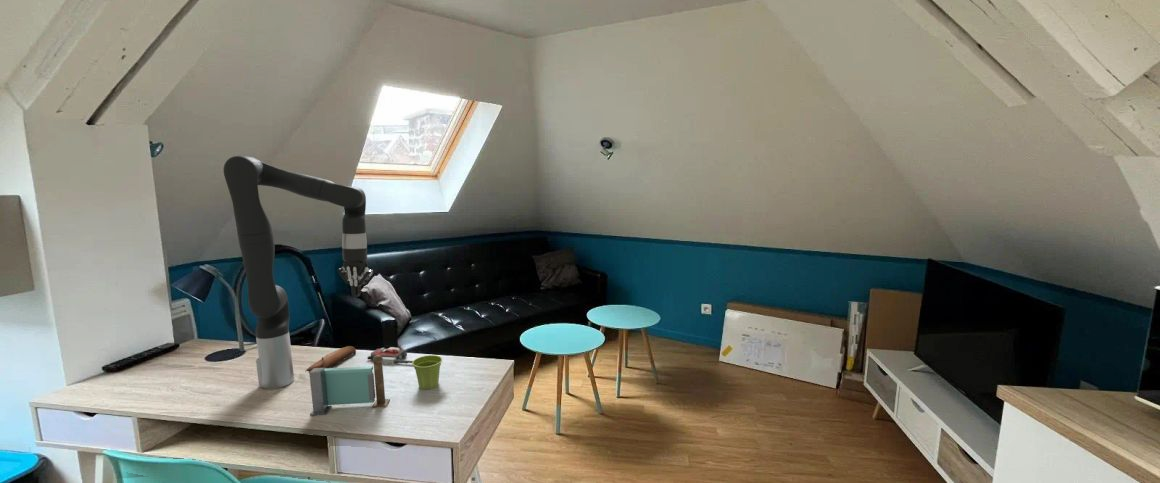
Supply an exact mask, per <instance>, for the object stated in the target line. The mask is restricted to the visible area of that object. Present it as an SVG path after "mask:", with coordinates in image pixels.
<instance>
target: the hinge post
mask: <svg viewBox="0 0 1160 483" xmlns="http://www.w3.org/2000/svg"><path fill="white" fill-rule="evenodd" d="M382 361H383V358H382V356H380V355H376V356H374V357H373V361H372V363H373V374H374V385H375V401H374V403H372V409H375V408H377V409H378V408H379V409H380V408H386V407H388V404H389V403H390V401H391V398H386V394H385V393H386V391H385V382H384V381H385V380H384V367H383V363H382Z"/></svg>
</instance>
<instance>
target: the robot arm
mask: <svg viewBox="0 0 1160 483" xmlns="http://www.w3.org/2000/svg"><path fill="white" fill-rule="evenodd" d="M222 172H223V176H224V179H225V183H226V186H227V187H228V188H227V189H228V191H229V192H228V193H229V195H230V199H231V203H232V207H233V215H234V220H235V225H236V232H237V238H238V244H239V248H240V253H241V257H242V262H243V267H244V272H245V275H246V284H247V303H248V308H249V310H250V312H251V313H252V314H253V315H254V316H256V317H257V324H256V327H255V339H256V340H255V341H256V347H257V359H256V360H255V364H256V371H257V372H256V373H257V380H258V387H259V388H263V389H266V390H267V389H268V390H269V389H271V390H274V389H278V388H279V389H280V388H283V387H286V386H288V385H290V384H292V383H293V382H294V381H295V373H294V372H295V371H294V365H293V355H292V346H291V337H290V336H291V335H290V329H289V328H290V327H289V326H290V319H291V318H290V308H289V307H290V305H289V298H288V295H287V294H288V293H287V292H286V290H285V289H284V288H283V287H282V286H279V285H278V284H276V283H275V278H274V263H275V262H274V260H275V253H276V252H275V251H276V250H275V238H274V234H273V233H274V232H273V228H272V225H271V222H270V220H269V217H268V215H267V214H266V212H265V210H264V208H263V205H262V203H261V200H260V195H259V186H263V187H264V186H265V187H270V188H271V187H272V188H277V189H281V190H285V191H286V192H287V191H288V192H290V193H293V194H296V195H299V196H302V197H304V198H305V197H306V198H308V199H313V200H317V201H322V202H326V203H327V202H328V203H330V204H334V205H337V206H340V207H343V217H342V224H341V225H342V227H341V228H342V237H341V249H342V251H341V252H342V260H343V263H342V266H341V267H340V268H338V269H336V270H337V271H336V272H337V273H338V274H339V275H340V277H341V278H342V280H343V282H344V283H345V285H347V284H348V285H350V294H351V296H352V297H354V298H358V297H360V296H361V294H362V286H363V285H365V284H367V282H369V280H370V278H371V277H372V276H373V274H374V270H373V269H370V268H369V266H368V262H367V260H368V244H367V243H368V240H367V234H366V230H367V229H366V228H367V227H366V208H367V207H366V205H367V198H366V197H367V196H366V193H365V191H364V190H363V188H360V187H359V186H348V185H343V184H339V183H335V182H333V181H331V180H329V179H324V178H321V177H317V176H314V175H313V176H312V175H308V174H303V173H298V172H294V171H289V170H287V169H286V170H285V169H283V168H279V167H277V166H274V165H271V164H268V163H266V162H264V161H261V160H259V159H257V158H255V157H253V156H247V155H246V156H245V155H235V156H231V157H229V158H228V159H226V161H225V163H224V166H223V171H222Z"/></svg>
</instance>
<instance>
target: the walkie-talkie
mask: <svg viewBox="0 0 1160 483" xmlns="http://www.w3.org/2000/svg"><path fill="white" fill-rule="evenodd" d="M376 355H380V356H382V358H383V361H382V365H392V366H393V365H395V364H412V362H413V361H414V360H404V359H406V358H407V357H408V356H407V355H408V353H407V350H406V349H401V348H400V347H394V346H390V347H389V348H385V347H381V348H376V349H375V350H373V351H372V352H370V355H369V356H367V360H370V361H371V362H373V357H374V356H376Z"/></svg>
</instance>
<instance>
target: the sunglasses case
mask: <svg viewBox="0 0 1160 483" xmlns="http://www.w3.org/2000/svg"><path fill="white" fill-rule="evenodd" d="M356 354H357V350H356V348H355V347H354V346H352V345H351V346H350V345H347V346H345V347H341V348H339V349H336V350H334V351H332V352H330V353H328V354H326V355H324V356H323V357H321V359H319V360H317V361H316V362H314V363H313V364H311V365H310V366H308V368H306V369H305V372H306V371H309V372H310V371H311V370H312V369H314V368H334V366H335V365H337V364H339V363H340V362H343V361H344V360H346V359H347V358H349V357H351V356H353V355H356ZM309 372H308V373H309Z"/></svg>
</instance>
